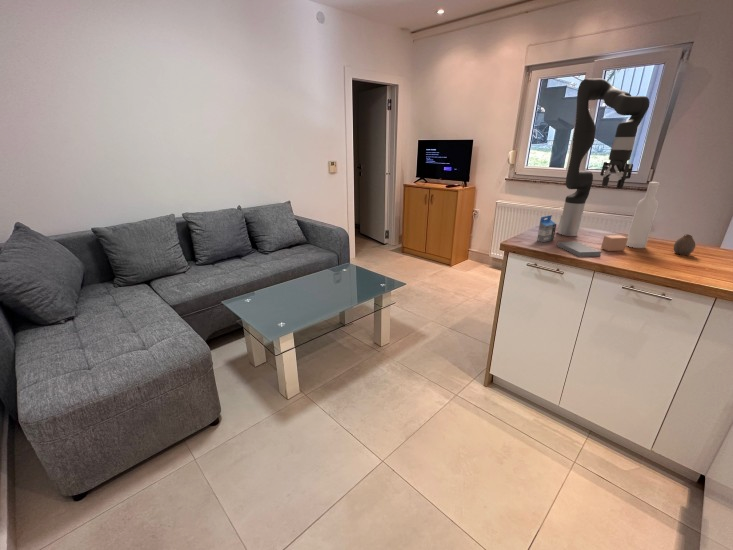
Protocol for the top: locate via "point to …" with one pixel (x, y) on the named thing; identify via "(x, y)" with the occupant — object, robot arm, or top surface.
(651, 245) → the top surface
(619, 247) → the tan rectangular block
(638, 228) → the bottle
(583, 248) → the board
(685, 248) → the grey pear shaped lump
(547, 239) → the label tape box
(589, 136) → the robot arm
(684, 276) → the top surface
